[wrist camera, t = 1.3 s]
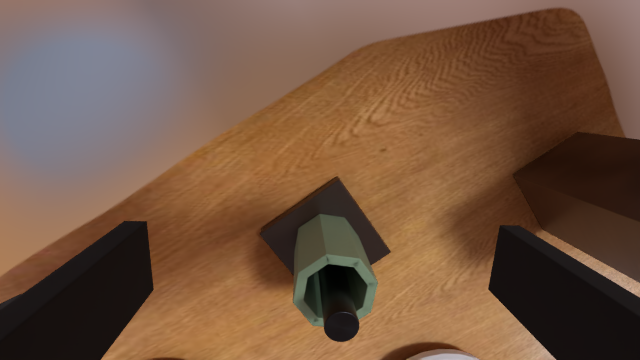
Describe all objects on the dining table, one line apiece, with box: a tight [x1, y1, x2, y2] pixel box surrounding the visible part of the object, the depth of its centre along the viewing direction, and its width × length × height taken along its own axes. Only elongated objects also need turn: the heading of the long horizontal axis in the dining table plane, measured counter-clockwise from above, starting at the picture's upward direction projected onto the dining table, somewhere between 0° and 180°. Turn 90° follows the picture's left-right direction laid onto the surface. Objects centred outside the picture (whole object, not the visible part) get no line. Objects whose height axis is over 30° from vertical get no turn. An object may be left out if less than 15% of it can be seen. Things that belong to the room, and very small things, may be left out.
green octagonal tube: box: [293, 214, 378, 327], centre depth 30 cm, size 6×6×9 cm
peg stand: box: [260, 177, 390, 342], centre depth 29 cm, size 10×10×14 cm
